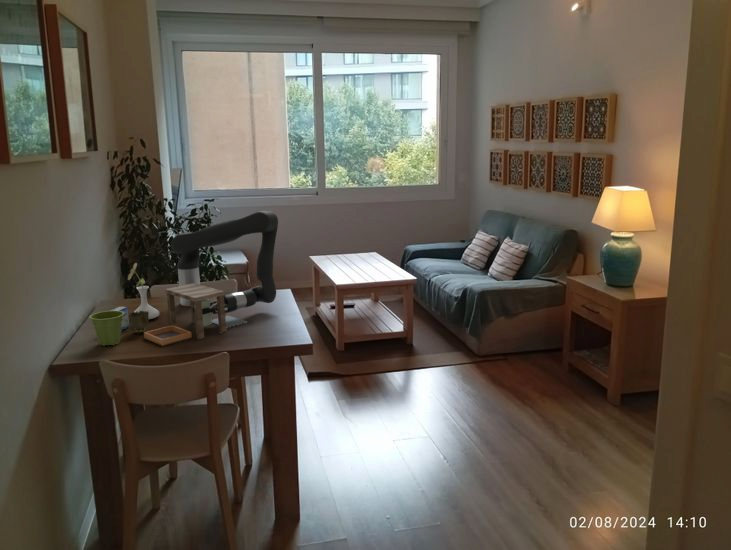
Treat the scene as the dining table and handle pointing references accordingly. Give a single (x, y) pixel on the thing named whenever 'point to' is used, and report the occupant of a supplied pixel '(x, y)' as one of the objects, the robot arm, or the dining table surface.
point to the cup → (139, 320)
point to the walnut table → (196, 304)
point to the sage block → (206, 317)
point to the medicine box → (125, 317)
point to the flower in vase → (143, 297)
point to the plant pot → (108, 326)
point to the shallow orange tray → (167, 335)
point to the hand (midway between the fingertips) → (196, 311)
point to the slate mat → (230, 321)
